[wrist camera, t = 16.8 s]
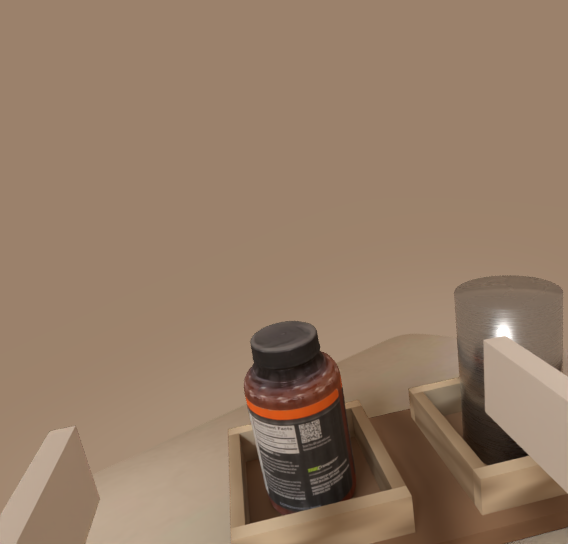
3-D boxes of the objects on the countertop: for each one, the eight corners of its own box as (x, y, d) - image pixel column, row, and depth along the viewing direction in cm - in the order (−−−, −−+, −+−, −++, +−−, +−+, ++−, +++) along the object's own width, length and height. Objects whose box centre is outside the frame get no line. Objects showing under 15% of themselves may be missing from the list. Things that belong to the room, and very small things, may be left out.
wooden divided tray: (244, 611, 24) (231, 556, 23) (237, 461, 35) (227, 421, 34) (656, 503, 26) (660, 449, 25) (522, 395, 37) (521, 355, 36)
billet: (495, 482, 28) (488, 317, 25) (447, 426, 33) (437, 286, 30) (584, 459, 28) (588, 296, 25) (522, 408, 34) (519, 269, 31)
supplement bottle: (309, 447, 34) (284, 307, 30) (376, 481, 29) (355, 322, 26) (249, 498, 30) (214, 343, 27) (315, 545, 25) (283, 367, 22)
